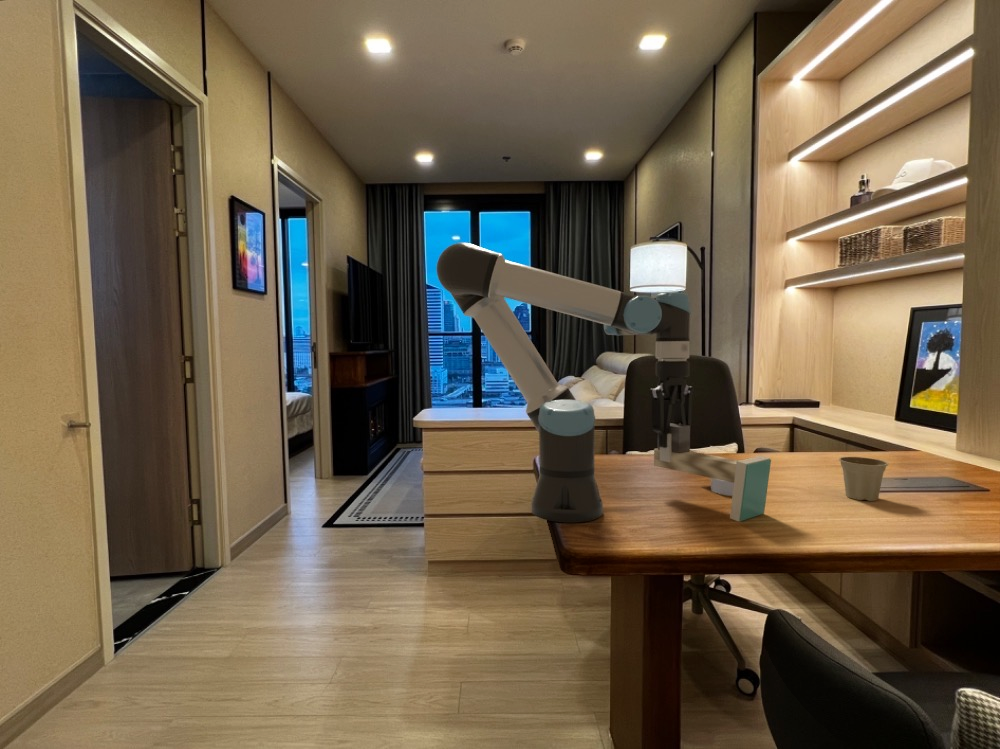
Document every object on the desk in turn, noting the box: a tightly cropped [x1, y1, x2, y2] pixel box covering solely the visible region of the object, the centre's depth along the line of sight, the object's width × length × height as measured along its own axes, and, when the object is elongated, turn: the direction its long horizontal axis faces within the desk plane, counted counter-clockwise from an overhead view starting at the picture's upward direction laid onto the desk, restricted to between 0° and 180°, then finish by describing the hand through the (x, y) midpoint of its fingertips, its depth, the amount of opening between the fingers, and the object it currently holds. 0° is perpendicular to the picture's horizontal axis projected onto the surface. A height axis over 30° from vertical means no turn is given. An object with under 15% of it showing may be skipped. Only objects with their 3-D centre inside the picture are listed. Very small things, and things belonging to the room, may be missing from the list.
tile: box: [729, 455, 772, 522], centre depth 110 cm, size 9×2×12 cm, turn 125°
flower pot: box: [838, 456, 889, 502], centre depth 124 cm, size 9×9×9 cm
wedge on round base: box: [710, 478, 734, 497], centre depth 132 cm, size 9×7×13 cm
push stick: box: [653, 422, 739, 483], centre depth 120 cm, size 22×4×10 cm, turn 35°
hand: (671, 459), depth 126 cm, fingers closed on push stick, 4 cm apart
